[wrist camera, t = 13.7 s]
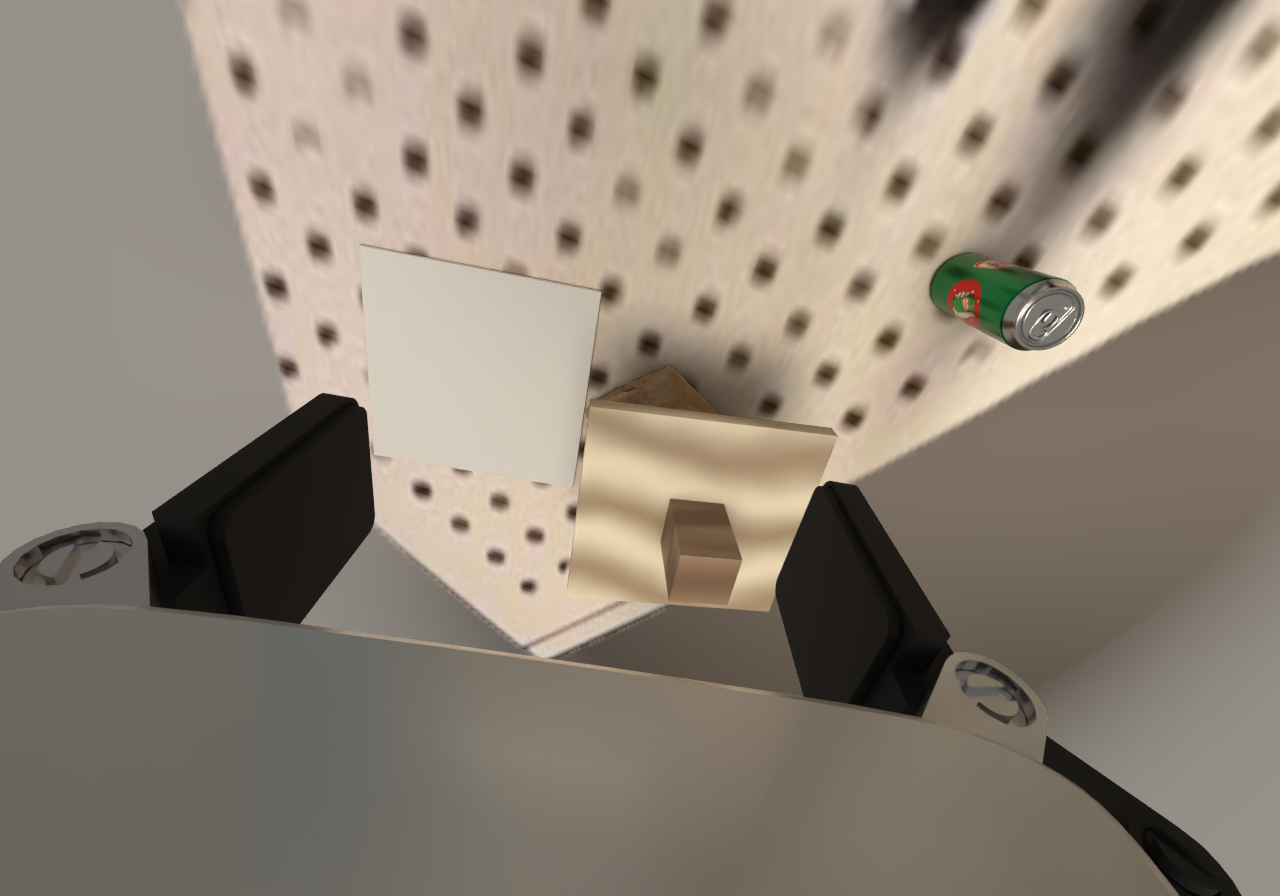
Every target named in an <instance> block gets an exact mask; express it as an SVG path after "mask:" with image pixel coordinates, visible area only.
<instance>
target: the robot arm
mask: <svg viewBox="0 0 1280 896" xmlns="http://www.w3.org/2000/svg"><path fill="white" fill-rule="evenodd" d="M152 514H153V517H154V520H155V522H153V523H152V524H151V525H149V526H148V527H147V528H145V529H144V530H140V529H138V528H137V527H135V526H133V525H128V524H124V523H120V522H98V523H91V524H82V525H77V526H73V527H69V528H65V529H61V530H57V531H54V532H52V533H49V534H46V535H44V536H41V537H38V538H36V539H34V540H32V541H30V542H28V543H27V544H24V545H23V546H21V547H19V548H17V549H15V550H14V551H13V552H12V553H11V554H9V555H8V556H7V557H6V558H5V559H3V560H2V561H1V563H0V896H1241V894H1240V893H1239V891H1238V889H1237V887H1236V885H1235V884H1234V882H1233V881H1232V879H1231V878H1230V877H1229V876H1228V874H1227V873H1226V872H1225V871H1224V870H1223V868H1222V867H1221V866H1220V864H1219V863H1218V862H1217V861H1216V860H1215V859H1214V858H1213V857H1212V856H1211V855H1210V853H1208V851H1207V850H1206V849H1205V848H1203V846H1201V845H1200V844H1199V843H1198V842H1197V841H1195V840H1194V839H1193V838H1191V837H1190V836H1189V835H1188V834H1186V833H1185V832H1184V831H1182V830H1181V829H1180V828H1178V827H1177V826H1176V825H1174V824H1173V823H1172V822H1170V821H1169V820H1167V819H1166V818H1164V817H1163V816H1161V815H1160V814H1159V813H1157V812H1156V811H1154V810H1153V809H1151V808H1150V807H1148V806H1147V805H1146V804H1144V803H1143V802H1141V801H1140V800H1138V799H1137V798H1135V797H1134V796H1133V795H1131V794H1130V793H1128V792H1127V791H1125V790H1124V789H1122V788H1121V787H1120V786H1118V785H1117V784H1115V783H1114V782H1112V781H1111V780H1110V779H1108V778H1107V777H1105V776H1104V775H1102V774H1101V773H1099V772H1098V771H1097V770H1095V769H1094V768H1092V767H1091V766H1089V765H1088V764H1086V763H1085V762H1083V761H1082V760H1081V759H1079V758H1078V757H1076V756H1075V755H1073V754H1072V753H1071V752H1069V751H1068V750H1066V749H1065V748H1063V747H1062V746H1060V745H1059V744H1057V743H1056V742H1055V741H1053V740H1052V739H1050V738H1049V737H1048V736H1047V729H1048V721H1047V714H1046V712H1045V710H1044V707H1043V705H1042V703H1041V702H1040V700H1039V699H1038V698H1037V696H1036V695H1035V694H1034V692H1032V690H1031V689H1030V688H1029V687H1028V686H1027V685H1026V684H1025V683H1024V682H1023V681H1022V680H1021V679H1020V678H1019V677H1018V676H1016V675H1015V674H1013V673H1012V672H1011V671H1009V670H1008V669H1006V668H1005V667H1004V666H1002V665H1000V664H998V663H996V662H994V661H992V660H990V659H988V658H986V657H983V656H980V655H977V654H974V653H964V652H959V653H956V654H954V653H953V652H952V650H951V648H950V647H949V645H948V644H947V640H948V639H949V637H950V634H949V632H948V631H947V629H946V628H945V626H944V625H943V623H942V621H941V620H940V618H939V616H938V615H937V613H936V612H935V610H934V608H933V607H932V605H931V604H930V602H929V601H928V599H927V597H926V596H925V594H924V592H923V591H922V589H921V587H920V586H919V584H918V583H917V581H916V579H915V578H914V576H913V575H912V573H911V571H910V570H909V568H908V567H907V565H906V564H905V562H904V560H903V559H902V557H901V555H900V554H899V552H898V551H897V549H896V547H895V546H894V544H893V543H892V541H891V539H890V538H889V536H888V535H887V533H886V531H885V530H884V528H883V526H882V525H881V523H880V522H879V520H878V518H877V517H876V515H875V514H874V512H873V510H872V509H871V507H870V506H869V504H868V502H867V501H866V499H865V497H864V496H863V494H862V493H861V491H860V489H859V488H858V487H857V486H856V485H851V484H845V483H839V482H833V481H828V482H826V483H825V484H824V486H818V487H816V488H815V490H814V492H813V494H812V496H811V499H810V501H809V504H808V506H807V508H806V511H805V513H804V516H803V518H802V520H801V523H800V525H799V528H798V530H797V532H796V535H795V537H794V539H793V542H792V544H791V547H790V549H789V551H788V554H787V556H786V559H785V561H784V563H783V566H782V568H781V571H780V573H779V575H778V578H777V581H776V587H775V594H776V598H777V602H778V606H779V609H780V613H781V617H782V620H783V624H784V627H785V631H786V634H787V638H788V642H789V645H790V649H791V653H792V656H793V660H794V663H795V667H796V671H797V674H798V678H799V681H800V685H801V689H802V692H803V696H804V697H801V696H795V695H789V694H783V693H776V692H770V691H762V690H756V689H750V688H743V687H736V686H729V685H723V684H715V683H710V682H703V681H696V680H690V679H683V678H676V677H669V676H663V675H656V674H650V673H643V672H636V671H629V670H622V669H615V668H608V667H602V666H595V665H588V664H581V663H574V662H567V661H560V660H553V659H546V658H539V657H533V656H526V655H519V654H512V653H504V652H498V651H490V650H483V649H477V648H469V647H462V646H455V645H448V644H441V643H434V642H427V641H419V640H412V639H405V638H397V637H390V636H383V635H376V634H369V633H361V632H354V631H347V630H340V629H333V628H325V627H318V626H311V625H303V624H300V623H301V622H302V620H303V619H304V618H305V617H306V615H307V614H308V613H309V611H310V610H311V609H312V607H313V606H314V605H315V603H316V602H317V601H318V600H319V598H320V597H321V595H322V594H323V593H324V591H325V590H326V589H327V588H328V586H329V585H330V584H331V582H332V581H333V580H334V579H335V577H336V576H337V575H338V573H339V572H340V571H341V569H342V568H343V567H344V565H345V564H346V563H347V562H348V560H349V559H350V558H351V556H352V555H353V554H354V552H355V551H356V550H357V548H358V547H359V546H360V544H361V543H362V542H363V541H364V539H365V538H366V537H367V535H368V534H369V532H370V531H371V529H372V527H373V524H374V519H375V510H374V497H373V485H372V472H371V460H370V447H369V435H368V422H367V413H366V410H365V408H363V407H359V405H358V403H357V401H356V400H355V399H354V398H349V397H343V396H338V395H332V394H326V393H322V394H320V395H318V396H317V397H315V398H314V399H312V400H311V401H309V402H308V403H307V404H305V405H304V406H302V407H301V408H299V409H298V410H297V411H295V412H294V413H292V414H291V415H289V416H288V417H287V418H285V419H284V420H282V421H281V422H279V423H278V424H277V425H275V426H274V427H272V428H271V429H269V430H268V431H267V432H265V433H264V434H262V435H261V436H259V437H258V438H257V439H255V440H254V441H252V442H251V443H250V444H248V445H247V446H245V447H244V448H242V449H241V450H239V451H238V452H237V453H235V454H234V455H232V456H231V457H229V458H228V459H227V460H225V461H224V462H222V463H221V464H219V465H218V466H217V467H215V468H214V469H212V470H211V471H209V472H208V473H207V474H205V475H204V476H203V477H201V478H199V479H198V480H197V481H195V482H194V483H192V484H191V485H190V486H188V487H187V488H185V489H184V490H182V491H181V492H179V493H178V494H177V495H175V496H174V497H172V498H171V499H169V500H168V501H167V502H165V503H164V504H162V505H161V506H159V507H158V508H157V509H155V510H154V511H152Z"/></svg>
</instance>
